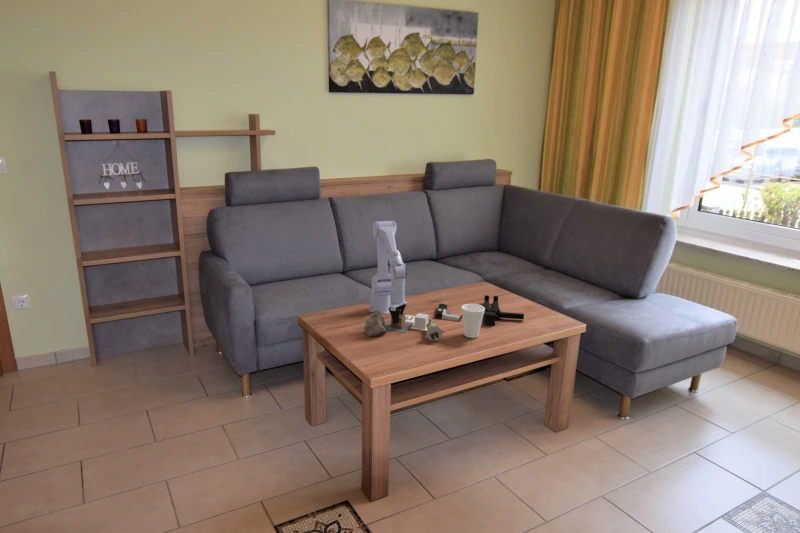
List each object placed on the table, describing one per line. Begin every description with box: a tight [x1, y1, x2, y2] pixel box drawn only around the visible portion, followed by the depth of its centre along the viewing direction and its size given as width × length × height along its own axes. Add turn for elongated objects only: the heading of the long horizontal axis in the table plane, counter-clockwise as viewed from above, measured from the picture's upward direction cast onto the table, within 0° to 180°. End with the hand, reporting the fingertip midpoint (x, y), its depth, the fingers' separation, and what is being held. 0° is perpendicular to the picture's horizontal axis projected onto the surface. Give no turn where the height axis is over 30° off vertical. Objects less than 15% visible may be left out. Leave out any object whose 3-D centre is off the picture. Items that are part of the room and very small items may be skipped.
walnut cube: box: [391, 313, 406, 329], centre depth 249 cm, size 5×5×5 cm
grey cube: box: [414, 312, 430, 329], centre depth 250 cm, size 5×5×5 cm
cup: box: [461, 303, 485, 339], centre depth 241 cm, size 10×10×13 cm
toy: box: [483, 294, 525, 326], centre depth 268 cm, size 28×6×30 cm
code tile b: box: [410, 323, 428, 331], centre depth 251 cm, size 8×8×1 cm
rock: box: [364, 310, 387, 337], centre depth 241 cm, size 9×12×10 cm
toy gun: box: [434, 303, 462, 322], centre depth 266 cm, size 3×16×12 cm
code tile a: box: [404, 314, 416, 324], centre depth 260 cm, size 8×8×1 cm
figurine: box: [424, 316, 445, 341], centre depth 241 cm, size 9×7×15 cm
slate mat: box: [385, 320, 413, 334], centre depth 250 cm, size 11×11×1 cm
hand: (397, 320), depth 249 cm, fingers open, 5 cm apart
